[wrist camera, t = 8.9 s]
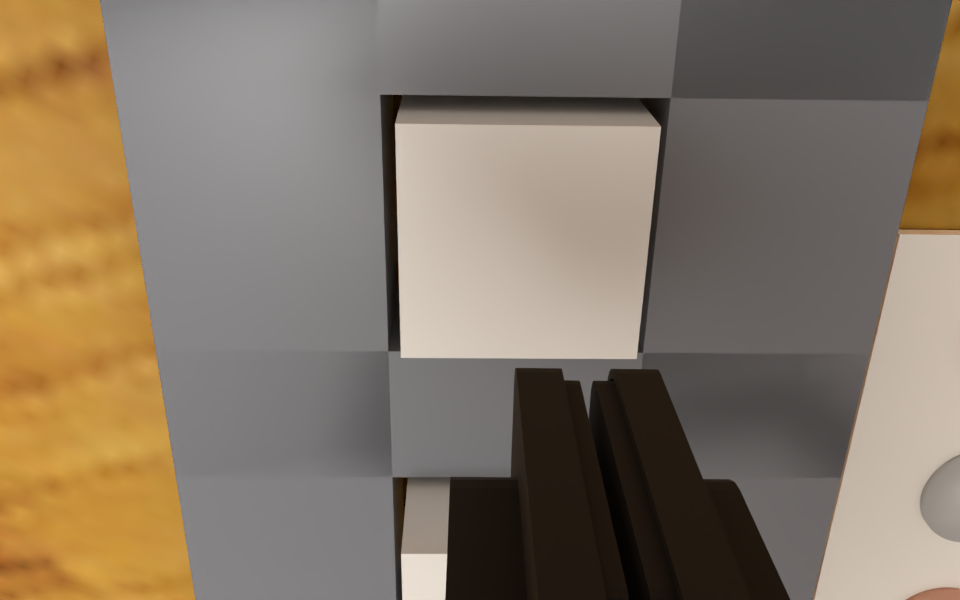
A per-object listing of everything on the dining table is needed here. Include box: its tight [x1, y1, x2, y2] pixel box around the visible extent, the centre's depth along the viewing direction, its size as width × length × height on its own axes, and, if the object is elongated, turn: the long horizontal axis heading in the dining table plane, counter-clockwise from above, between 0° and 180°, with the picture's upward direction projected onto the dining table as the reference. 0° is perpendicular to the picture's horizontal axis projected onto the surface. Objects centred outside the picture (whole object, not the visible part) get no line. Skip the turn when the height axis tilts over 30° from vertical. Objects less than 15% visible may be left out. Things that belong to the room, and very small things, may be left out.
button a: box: [395, 95, 661, 359], centre depth 17 cm, size 4×4×4 cm
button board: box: [100, 0, 952, 600], centre depth 21 cm, size 14×26×3 cm, turn 179°
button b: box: [401, 477, 450, 600], centre depth 20 cm, size 4×4×4 cm
